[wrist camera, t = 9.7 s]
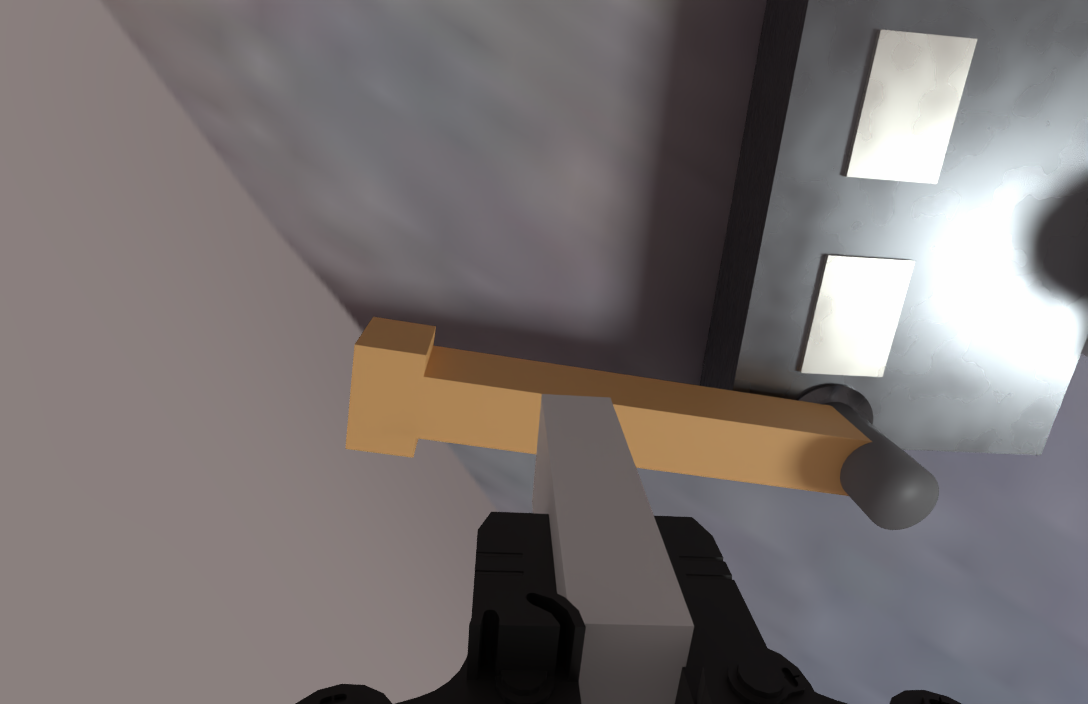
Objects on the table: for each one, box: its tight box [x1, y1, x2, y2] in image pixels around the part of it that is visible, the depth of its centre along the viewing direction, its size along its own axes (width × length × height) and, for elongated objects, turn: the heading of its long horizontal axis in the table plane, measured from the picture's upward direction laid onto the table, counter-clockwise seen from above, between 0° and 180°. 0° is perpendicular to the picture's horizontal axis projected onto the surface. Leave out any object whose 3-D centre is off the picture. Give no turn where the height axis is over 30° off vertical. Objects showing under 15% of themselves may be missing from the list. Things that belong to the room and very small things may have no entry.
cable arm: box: [346, 317, 939, 530], centre depth 24 cm, size 21×4×5 cm, turn 80°
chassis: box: [700, 0, 1088, 455], centre depth 27 cm, size 21×15×4 cm
